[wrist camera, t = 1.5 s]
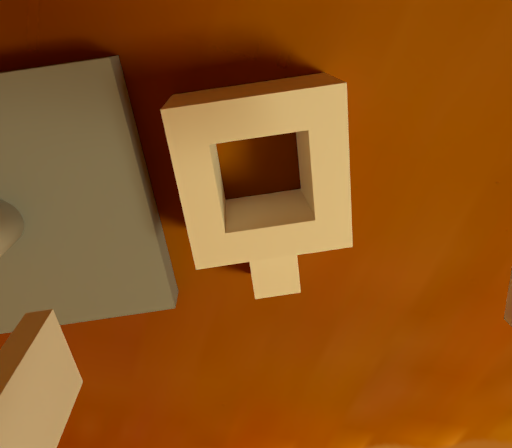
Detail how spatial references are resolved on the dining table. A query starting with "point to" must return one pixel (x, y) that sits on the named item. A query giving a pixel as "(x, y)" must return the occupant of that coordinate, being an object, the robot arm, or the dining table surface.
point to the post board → (76, 199)
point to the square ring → (272, 204)
